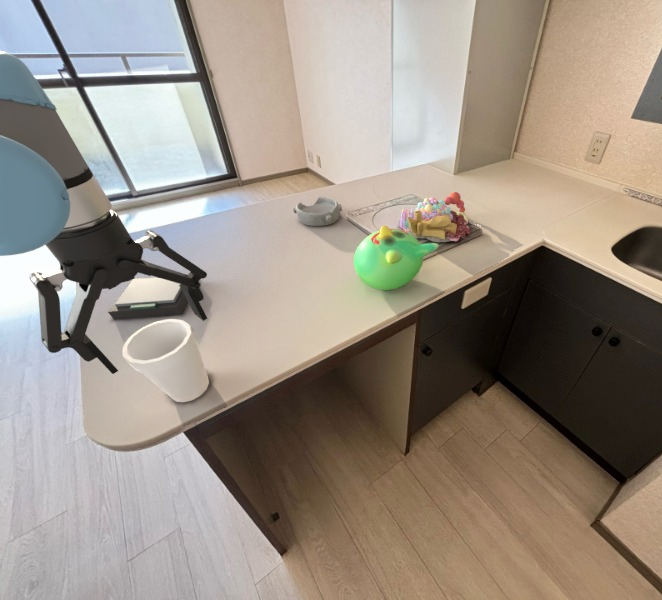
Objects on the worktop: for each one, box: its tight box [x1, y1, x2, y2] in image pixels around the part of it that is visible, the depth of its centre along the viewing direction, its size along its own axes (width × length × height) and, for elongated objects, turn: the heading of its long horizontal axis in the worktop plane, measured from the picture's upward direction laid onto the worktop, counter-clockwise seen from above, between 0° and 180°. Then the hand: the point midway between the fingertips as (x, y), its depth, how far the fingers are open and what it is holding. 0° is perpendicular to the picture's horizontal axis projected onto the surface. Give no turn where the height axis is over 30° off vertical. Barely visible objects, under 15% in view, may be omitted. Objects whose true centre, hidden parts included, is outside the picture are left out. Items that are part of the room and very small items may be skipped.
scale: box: [107, 276, 189, 321], centre depth 76 cm, size 14×12×3 cm
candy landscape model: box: [399, 191, 472, 243], centre depth 107 cm, size 25×24×9 cm
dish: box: [292, 196, 343, 227], centre depth 110 cm, size 14×14×5 cm
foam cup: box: [122, 318, 210, 403], centre depth 56 cm, size 10×9×13 cm
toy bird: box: [353, 224, 440, 291], centre depth 81 cm, size 18×17×15 cm
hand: (160, 340), depth 52 cm, fingers open, 13 cm apart
